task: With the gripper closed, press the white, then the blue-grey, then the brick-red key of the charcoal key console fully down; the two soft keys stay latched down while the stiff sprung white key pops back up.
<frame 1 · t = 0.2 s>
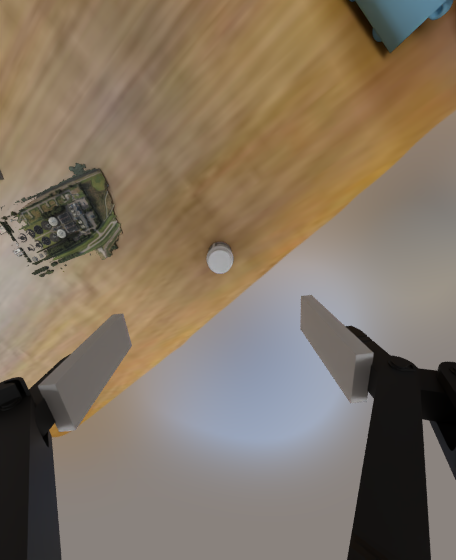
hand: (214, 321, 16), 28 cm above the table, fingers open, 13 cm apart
pill bottle: (220, 252, 42), on the table
treatment plant: (66, 226, 40), on the table
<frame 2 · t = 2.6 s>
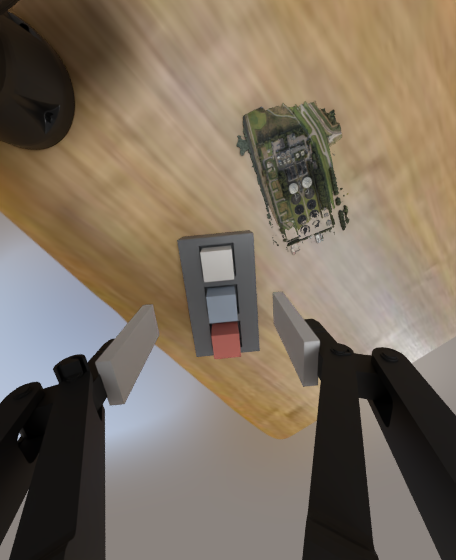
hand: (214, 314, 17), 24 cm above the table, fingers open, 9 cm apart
blue key: (222, 303, 35), point 6 cm above the table, slide at 0.0 cm
console: (222, 290, 41), on the table
red key: (226, 339, 37), point 6 cm above the table, slide at 0.0 cm
treatment plant: (297, 180, 36), on the table
white key: (217, 263, 33), point 6 cm above the table, slide at 0.1 cm
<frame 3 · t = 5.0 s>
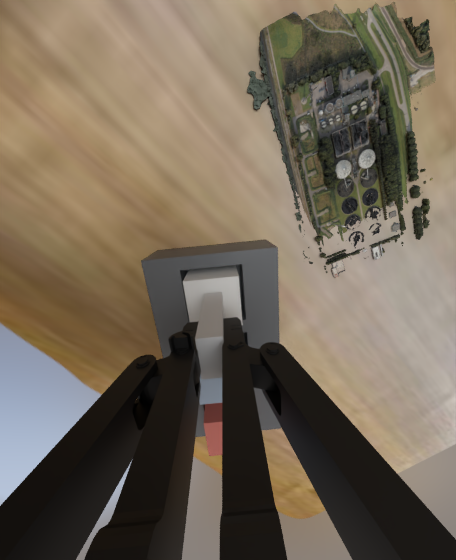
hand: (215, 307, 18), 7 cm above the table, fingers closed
blue key: (222, 366, 21), point 6 cm above the table, slide at 0.0 cm
console: (221, 331, 27), on the table
red key: (228, 419, 23), point 6 cm above the table, slide at 0.0 cm
treatment plant: (347, 156, 22), on the table
white key: (214, 295, 20), point 5 cm above the table, slide at 1.5 cm, touching gripper
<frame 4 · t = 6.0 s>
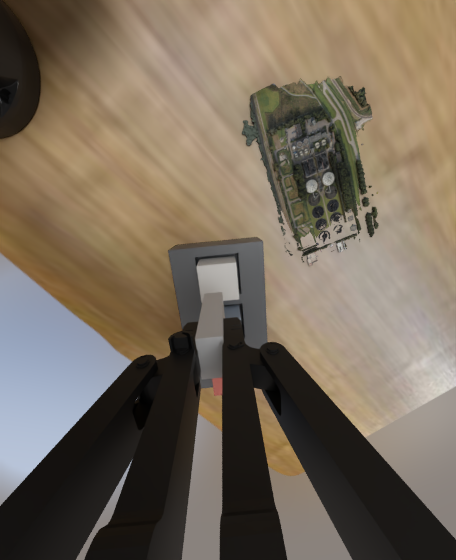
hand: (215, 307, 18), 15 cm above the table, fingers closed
blue key: (224, 328, 29), point 6 cm above the table, slide at 0.0 cm
console: (223, 308, 35), on the table
red key: (228, 370, 31), point 6 cm above the table, slide at 0.0 cm
treatment plant: (315, 176, 30), on the table
white key: (218, 278, 27), point 6 cm above the table, slide at 0.3 cm
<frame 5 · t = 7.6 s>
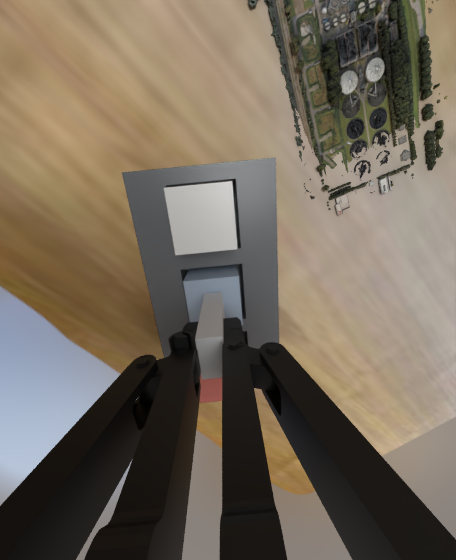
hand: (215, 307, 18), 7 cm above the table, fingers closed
blue key: (214, 295, 20), point 5 cm above the table, slide at 1.3 cm, touching gripper
console: (215, 278, 25), on the table
red key: (222, 365, 21), point 6 cm above the table, slide at 0.0 cm
treatment plant: (353, 70, 20), on the table
white key: (204, 218, 17), point 6 cm above the table, slide at 0.3 cm
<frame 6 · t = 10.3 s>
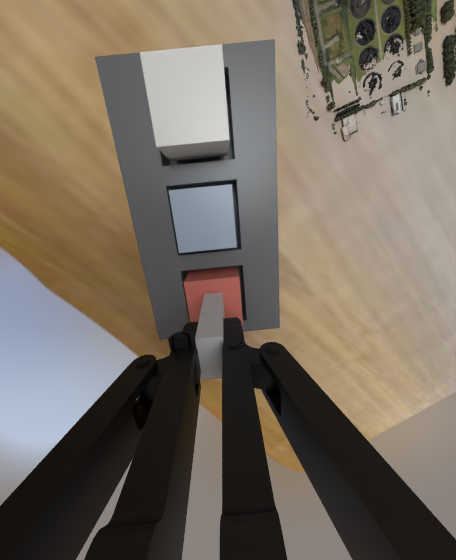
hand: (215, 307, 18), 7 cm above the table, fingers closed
blue key: (206, 219, 18), point 5 cm above the table, slide at 1.7 cm
console: (208, 217, 22), on the table
red key: (215, 295, 20), point 5 cm above the table, slide at 1.5 cm, touching gripper
white key: (191, 113, 14), point 6 cm above the table, slide at 0.3 cm
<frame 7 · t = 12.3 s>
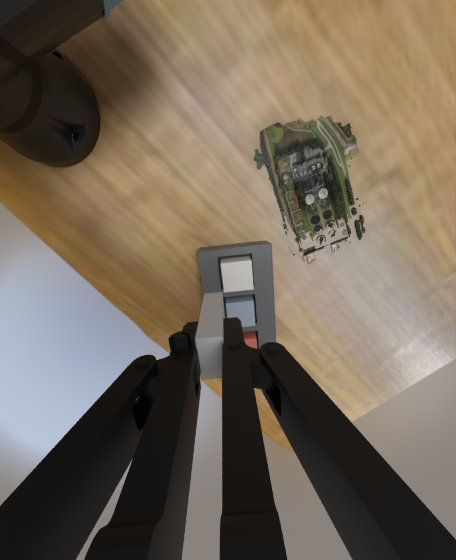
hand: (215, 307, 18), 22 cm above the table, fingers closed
blue key: (240, 309, 37), point 5 cm above the table, slide at 1.7 cm
console: (238, 300, 41), on the table
red key: (243, 344, 39), point 5 cm above the table, slide at 1.7 cm
treatment plant: (312, 191, 37), on the table
white key: (236, 273, 34), point 6 cm above the table, slide at 0.3 cm
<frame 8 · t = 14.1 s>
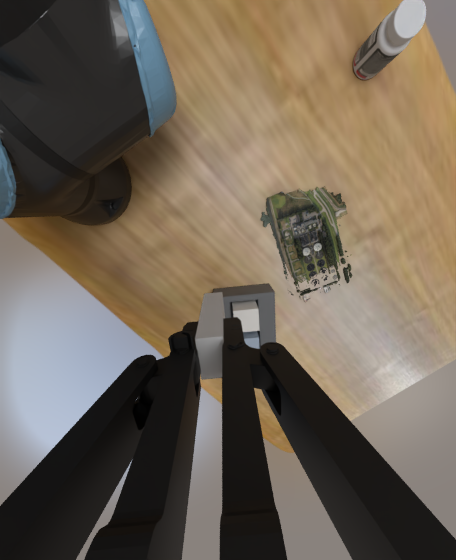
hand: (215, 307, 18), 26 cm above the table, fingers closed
blue key: (246, 342, 44), point 5 cm above the table, slide at 1.7 cm
console: (244, 330, 49), on the table
pill bottle: (365, 63, 34), on the table
treatment plant: (309, 243, 44), on the table
white key: (245, 315, 41), point 6 cm above the table, slide at 0.3 cm
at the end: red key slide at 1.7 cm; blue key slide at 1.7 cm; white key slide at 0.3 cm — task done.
